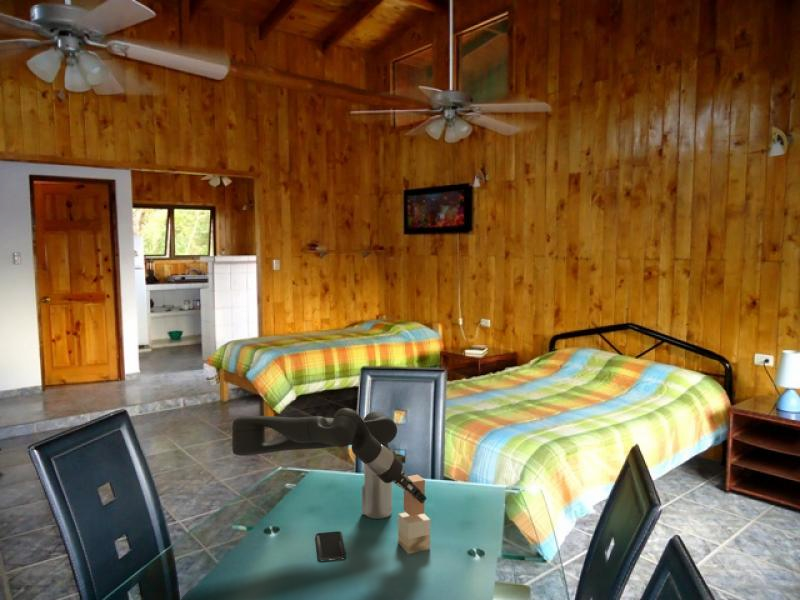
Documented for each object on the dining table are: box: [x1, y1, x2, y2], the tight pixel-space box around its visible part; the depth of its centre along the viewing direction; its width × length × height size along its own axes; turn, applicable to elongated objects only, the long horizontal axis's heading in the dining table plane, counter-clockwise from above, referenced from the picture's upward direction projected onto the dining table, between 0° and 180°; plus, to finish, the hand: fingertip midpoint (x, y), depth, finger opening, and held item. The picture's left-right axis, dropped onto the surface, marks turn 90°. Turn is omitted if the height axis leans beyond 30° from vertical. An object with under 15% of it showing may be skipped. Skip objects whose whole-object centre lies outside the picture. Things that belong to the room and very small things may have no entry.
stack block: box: [403, 474, 426, 516], centre depth 167 cm, size 4×4×10 cm
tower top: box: [398, 511, 431, 539], centre depth 168 cm, size 7×7×4 cm
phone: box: [315, 530, 347, 561], centre depth 167 cm, size 8×1×15 cm
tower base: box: [397, 528, 431, 555], centre depth 168 cm, size 7×7×4 cm
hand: (419, 497), depth 168 cm, fingers closed on stack block, 4 cm apart
